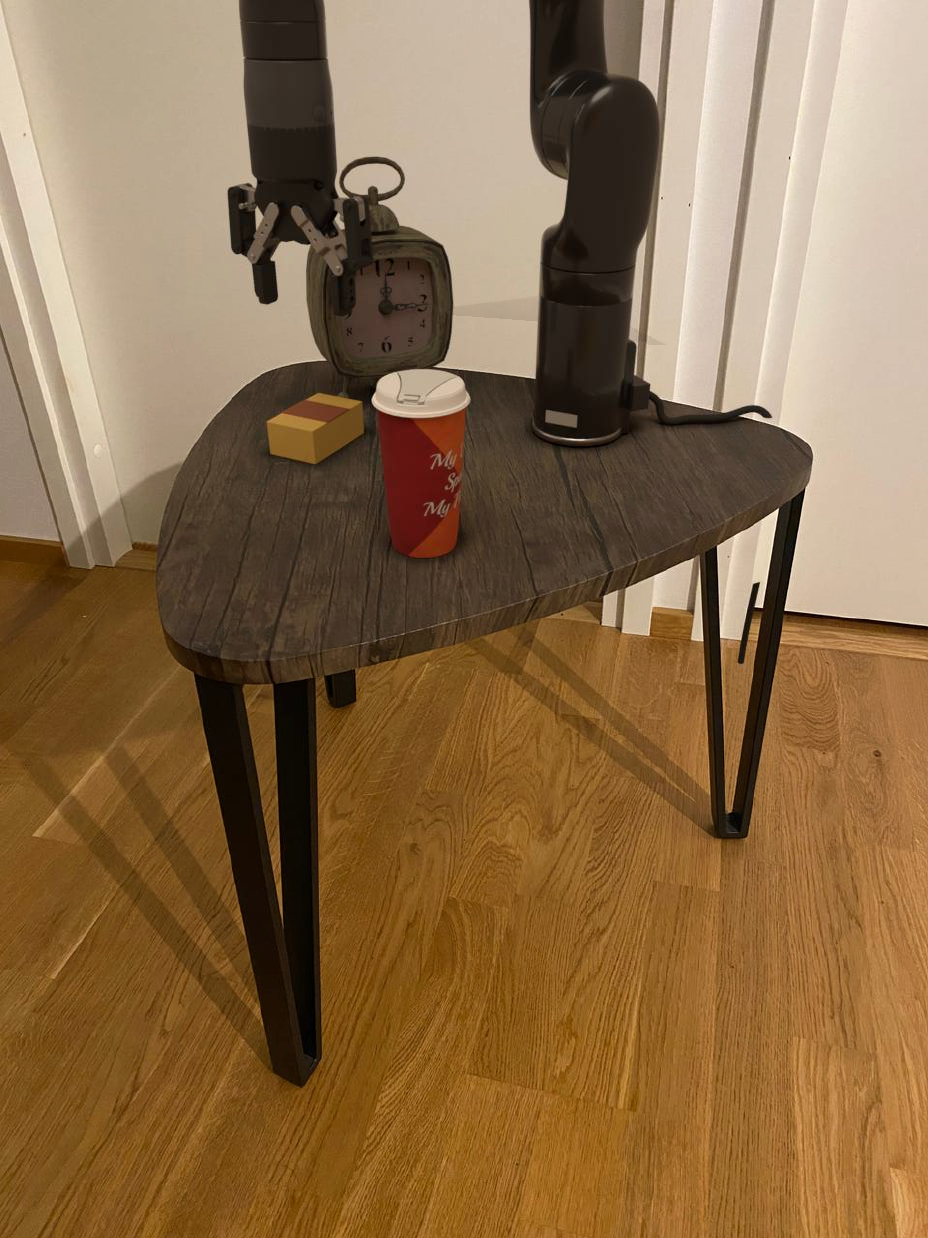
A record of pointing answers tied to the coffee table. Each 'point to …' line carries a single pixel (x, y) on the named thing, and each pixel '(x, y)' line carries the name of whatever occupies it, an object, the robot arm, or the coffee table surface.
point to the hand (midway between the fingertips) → (305, 308)
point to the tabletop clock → (384, 298)
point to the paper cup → (422, 457)
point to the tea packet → (315, 428)
